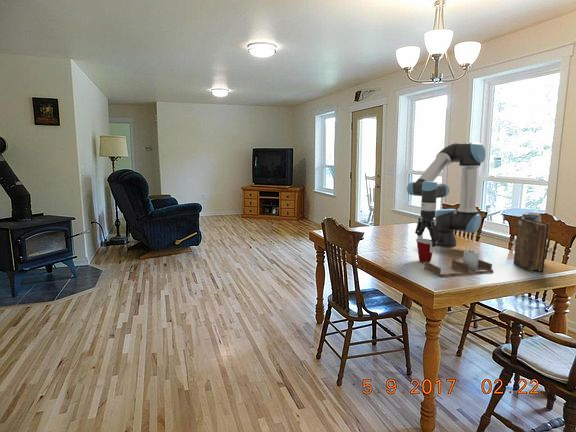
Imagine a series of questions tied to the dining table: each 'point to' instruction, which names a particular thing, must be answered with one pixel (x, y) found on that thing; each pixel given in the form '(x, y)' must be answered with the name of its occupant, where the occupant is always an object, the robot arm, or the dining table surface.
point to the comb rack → (459, 268)
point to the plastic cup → (424, 250)
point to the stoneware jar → (471, 259)
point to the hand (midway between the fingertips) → (425, 249)
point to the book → (531, 244)
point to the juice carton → (532, 216)
